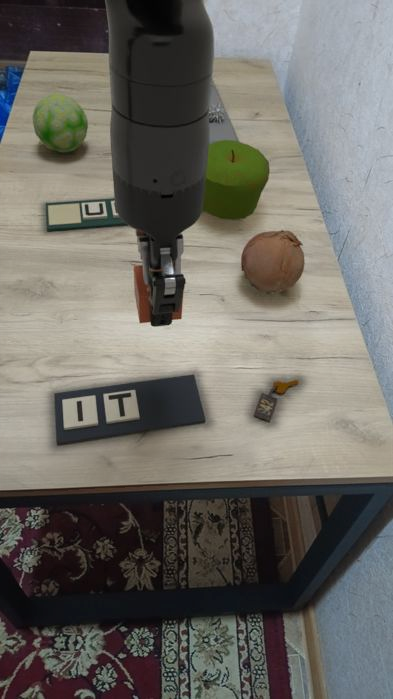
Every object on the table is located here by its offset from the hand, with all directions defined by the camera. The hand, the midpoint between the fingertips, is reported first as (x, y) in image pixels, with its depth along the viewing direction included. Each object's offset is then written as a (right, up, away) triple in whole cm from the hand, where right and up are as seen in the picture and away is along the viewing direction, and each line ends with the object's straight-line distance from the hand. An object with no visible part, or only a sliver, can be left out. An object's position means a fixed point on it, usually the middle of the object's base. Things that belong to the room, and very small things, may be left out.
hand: (157, 305), depth 52 cm
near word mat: (-4, -12, +9) cm, 16 cm away
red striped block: (0, 0, 0) cm, 0 cm away
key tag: (+15, -11, +12) cm, 22 cm away
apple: (+9, +20, +36) cm, 42 cm away
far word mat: (-12, +19, +32) cm, 39 cm away
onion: (+15, +6, +25) cm, 30 cm away
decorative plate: (0, +45, +54) cm, 70 cm away
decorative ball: (-21, +34, +44) cm, 60 cm away
